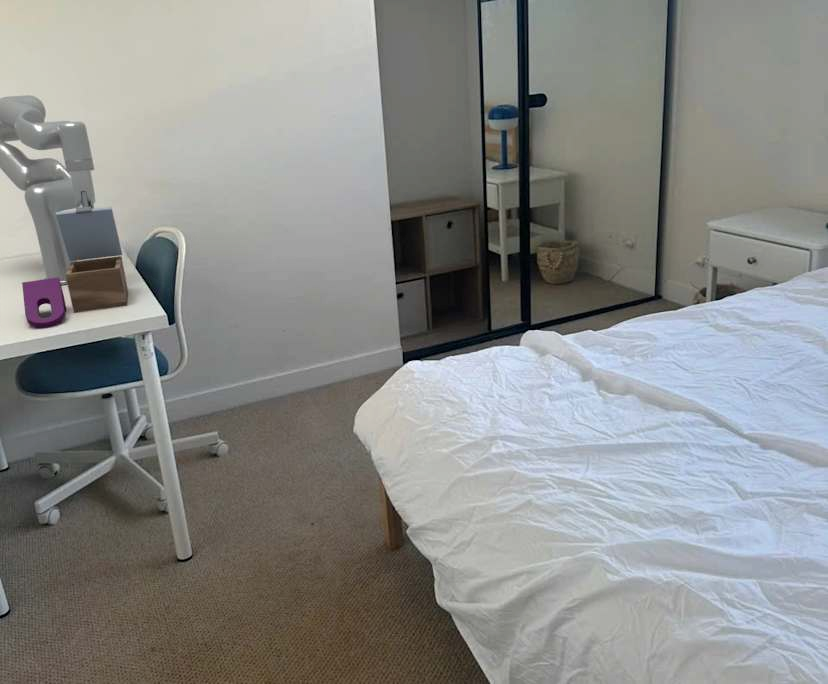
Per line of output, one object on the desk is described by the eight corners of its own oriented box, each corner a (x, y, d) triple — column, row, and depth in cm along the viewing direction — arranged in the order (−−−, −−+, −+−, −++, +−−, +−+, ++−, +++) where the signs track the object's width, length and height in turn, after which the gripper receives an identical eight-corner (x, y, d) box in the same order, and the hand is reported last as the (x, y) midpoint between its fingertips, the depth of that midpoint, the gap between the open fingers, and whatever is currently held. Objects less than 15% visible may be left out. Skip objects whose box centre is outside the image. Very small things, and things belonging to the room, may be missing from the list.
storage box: (78, 297, 221) (71, 262, 217) (128, 291, 225) (121, 256, 221) (73, 312, 207) (65, 274, 203) (126, 305, 211) (119, 268, 207)
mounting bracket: (71, 342, 202) (65, 299, 213) (65, 319, 196) (59, 277, 208) (33, 348, 199) (28, 305, 210) (26, 325, 193) (22, 282, 204)
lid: (69, 262, 217) (69, 258, 218) (122, 256, 221) (122, 252, 222) (55, 213, 205) (55, 209, 206) (111, 208, 209) (110, 204, 210)
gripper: (68, 164, 222) (81, 225, 228) (63, 169, 208) (77, 234, 215) (95, 162, 224) (107, 222, 230) (91, 167, 211) (104, 231, 217)
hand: (92, 228), depth 222 cm, fingers closed
